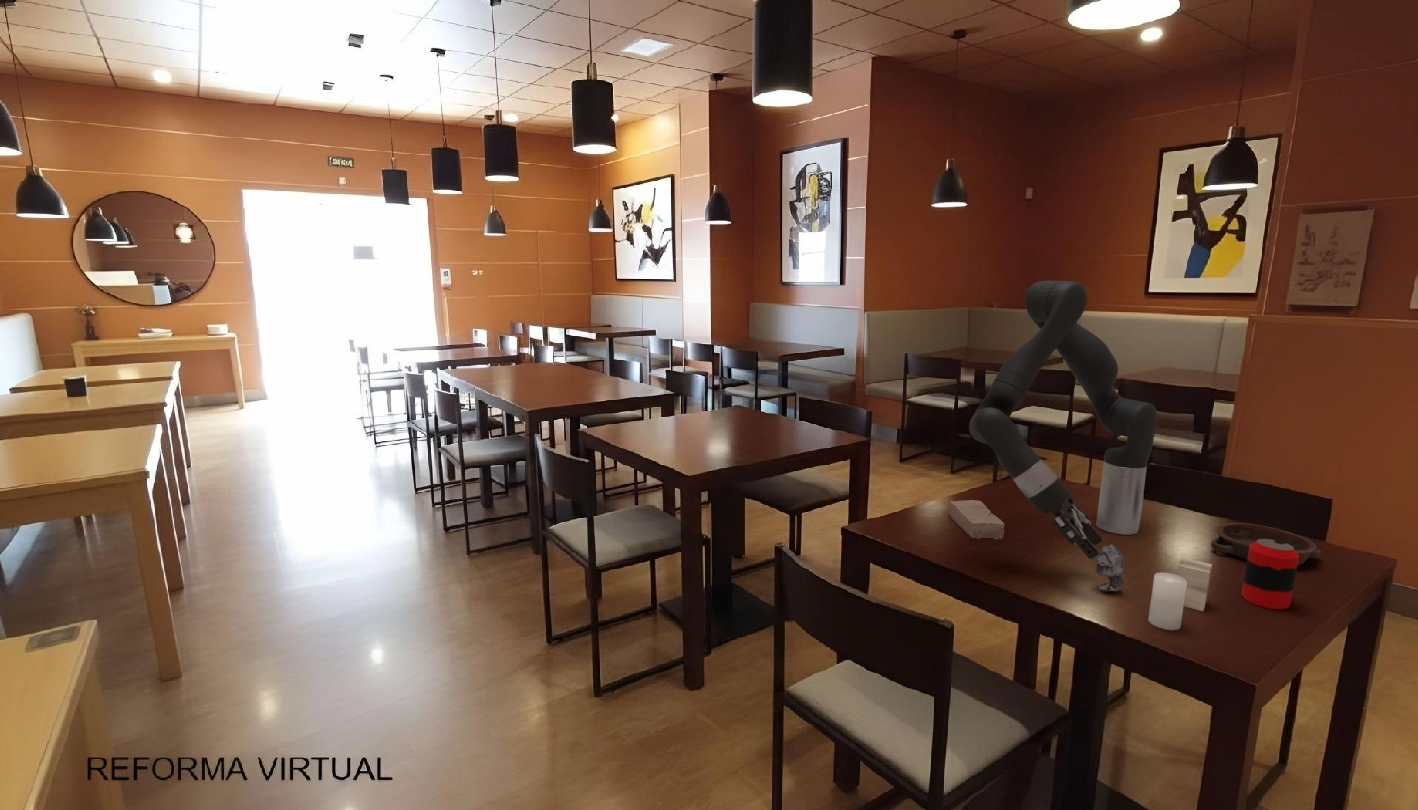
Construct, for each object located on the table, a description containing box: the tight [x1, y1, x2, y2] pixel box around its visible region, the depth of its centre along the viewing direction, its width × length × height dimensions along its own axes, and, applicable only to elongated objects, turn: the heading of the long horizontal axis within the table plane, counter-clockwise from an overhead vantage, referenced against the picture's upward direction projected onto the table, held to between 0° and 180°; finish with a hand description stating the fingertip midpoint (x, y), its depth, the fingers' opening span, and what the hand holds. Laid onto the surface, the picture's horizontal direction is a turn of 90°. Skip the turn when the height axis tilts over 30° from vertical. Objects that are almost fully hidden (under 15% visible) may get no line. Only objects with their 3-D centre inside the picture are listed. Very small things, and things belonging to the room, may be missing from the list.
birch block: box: [1176, 557, 1213, 612], centre depth 134 cm, size 5×5×8 cm
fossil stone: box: [1094, 544, 1126, 592], centre depth 139 cm, size 5×5×10 cm
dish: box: [1210, 522, 1322, 566], centre depth 157 cm, size 18×22×5 cm
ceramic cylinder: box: [1147, 572, 1187, 631], centre depth 126 cm, size 5×5×9 cm
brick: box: [949, 499, 1006, 540], centre depth 174 cm, size 17×8×5 cm, turn 0°
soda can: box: [1241, 539, 1299, 611], centre depth 134 cm, size 8×8×12 cm
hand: (1097, 549), depth 139 cm, fingers open, 8 cm apart
